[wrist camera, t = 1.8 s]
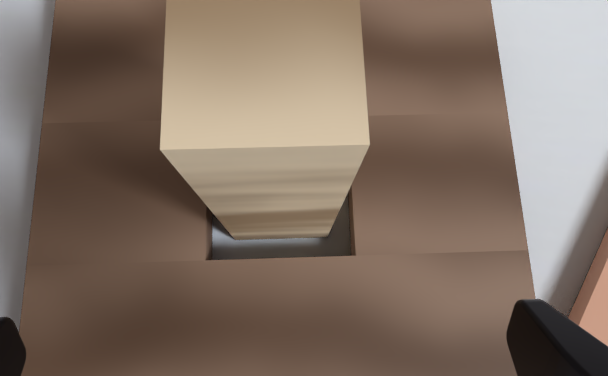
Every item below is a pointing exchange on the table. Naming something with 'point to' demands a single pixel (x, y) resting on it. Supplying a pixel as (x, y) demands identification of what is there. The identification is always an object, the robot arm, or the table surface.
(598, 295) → the tile
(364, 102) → the block
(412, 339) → the board
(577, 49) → the table surface
